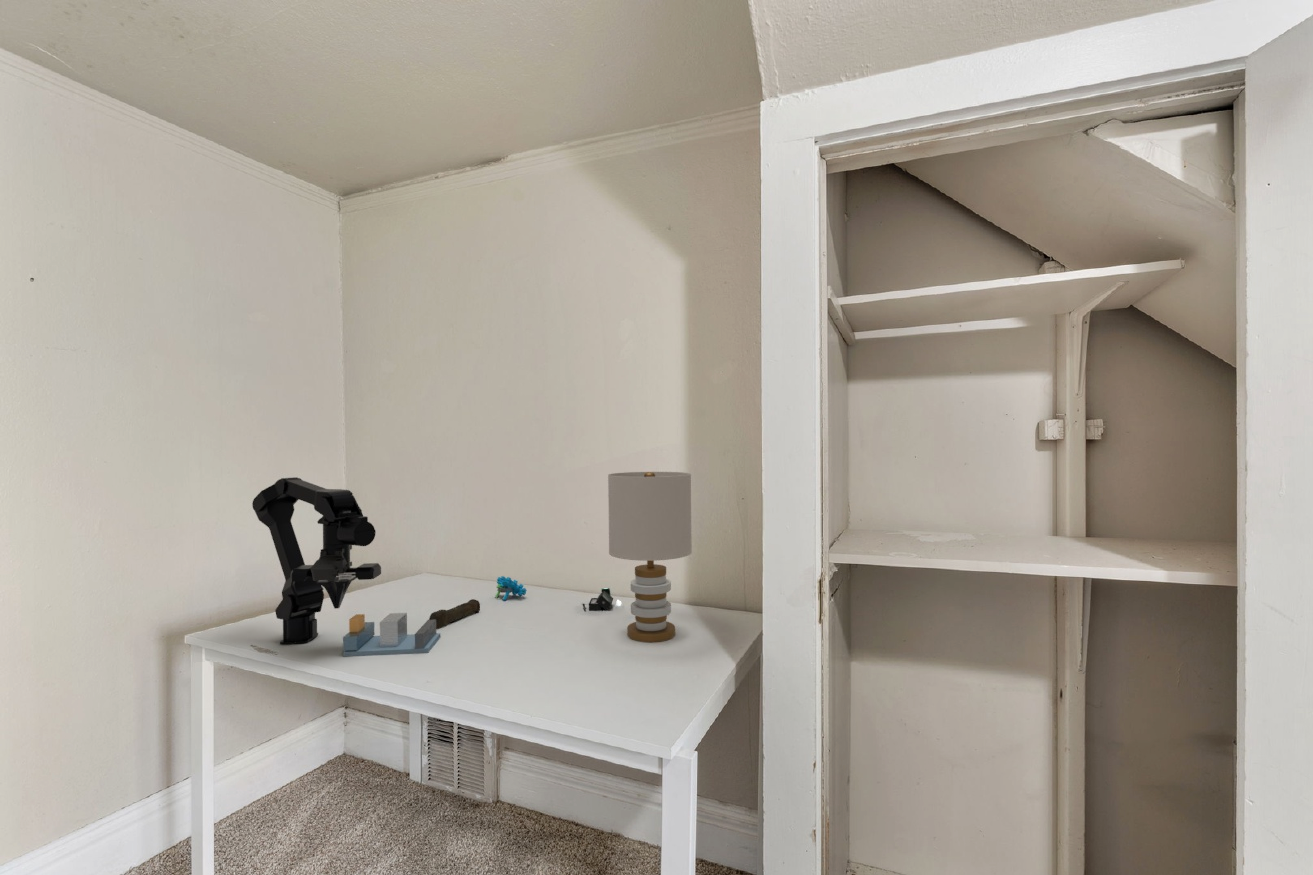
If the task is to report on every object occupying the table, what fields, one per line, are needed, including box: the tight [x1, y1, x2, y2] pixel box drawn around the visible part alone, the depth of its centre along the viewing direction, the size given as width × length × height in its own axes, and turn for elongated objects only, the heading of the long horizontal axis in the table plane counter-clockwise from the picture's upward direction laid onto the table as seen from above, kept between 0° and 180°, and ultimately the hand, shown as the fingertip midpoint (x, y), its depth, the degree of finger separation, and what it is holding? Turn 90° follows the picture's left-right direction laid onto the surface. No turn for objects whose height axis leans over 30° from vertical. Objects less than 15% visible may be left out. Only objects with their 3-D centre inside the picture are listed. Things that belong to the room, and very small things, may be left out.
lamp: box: [607, 471, 693, 643], centre depth 152 cm, size 21×21×41 cm
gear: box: [494, 575, 527, 601], centre depth 187 cm, size 11×6×10 cm
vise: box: [342, 619, 441, 657], centre depth 145 cm, size 19×11×4 cm, turn 96°
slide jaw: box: [342, 613, 375, 652], centre depth 145 cm, size 3×11×6 cm, turn 6°
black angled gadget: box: [582, 587, 622, 613], centre depth 176 cm, size 15×15×6 cm
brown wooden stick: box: [428, 598, 481, 630], centre depth 165 cm, size 19×4×5 cm, turn 157°
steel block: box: [379, 612, 408, 647], centre depth 146 cm, size 4×7×6 cm, turn 6°
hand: (337, 608), depth 144 cm, fingers closed
